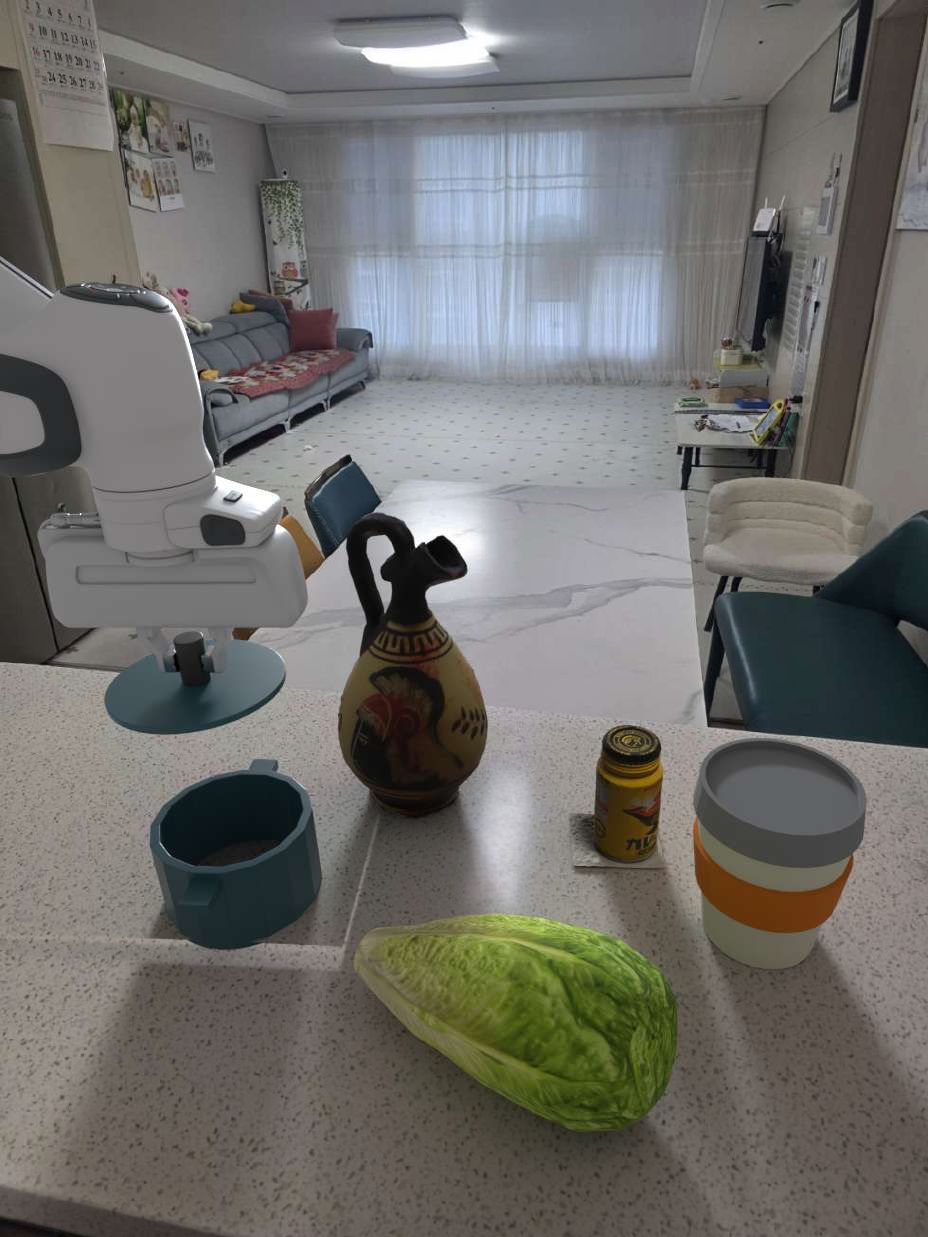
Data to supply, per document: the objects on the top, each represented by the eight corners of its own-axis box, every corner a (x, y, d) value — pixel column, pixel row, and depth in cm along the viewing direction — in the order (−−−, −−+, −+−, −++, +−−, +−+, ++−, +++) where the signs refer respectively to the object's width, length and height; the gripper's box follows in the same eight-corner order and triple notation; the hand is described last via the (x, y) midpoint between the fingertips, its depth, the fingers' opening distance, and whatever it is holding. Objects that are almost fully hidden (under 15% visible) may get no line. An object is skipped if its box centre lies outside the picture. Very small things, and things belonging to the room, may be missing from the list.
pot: (129, 972, 67) (105, 895, 64) (211, 819, 84) (196, 751, 81) (291, 980, 66) (277, 901, 62) (341, 823, 83) (333, 754, 79)
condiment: (665, 869, 76) (675, 762, 71) (573, 867, 77) (576, 761, 71) (654, 817, 82) (663, 716, 77) (569, 816, 83) (572, 715, 78)
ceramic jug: (513, 765, 91) (511, 506, 78) (446, 853, 79) (430, 564, 66) (383, 729, 98) (361, 486, 85) (303, 805, 86) (263, 535, 73)
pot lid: (73, 740, 64) (56, 682, 62) (152, 650, 77) (140, 600, 75) (257, 742, 63) (246, 683, 60) (305, 650, 76) (298, 599, 74)
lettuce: (414, 863, 70) (330, 873, 59) (703, 951, 59) (666, 984, 48) (384, 1008, 69) (292, 1046, 58) (675, 1126, 58) (630, 1202, 47)
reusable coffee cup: (853, 998, 63) (891, 846, 56) (684, 977, 65) (702, 829, 59) (820, 880, 74) (849, 742, 67) (676, 866, 76) (691, 730, 70)
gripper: (9, 527, 61) (57, 688, 67) (278, 524, 59) (303, 689, 65) (53, 500, 67) (94, 651, 73) (301, 497, 65) (321, 651, 71)
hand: (195, 669), depth 69 cm, fingers closed on pot lid, 2 cm apart
